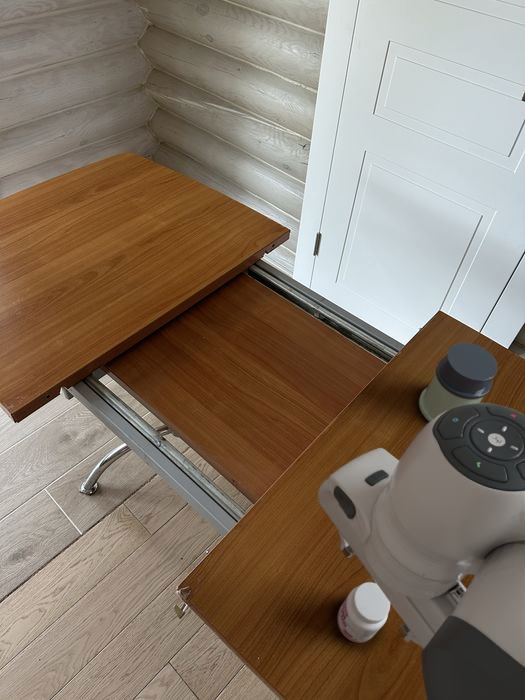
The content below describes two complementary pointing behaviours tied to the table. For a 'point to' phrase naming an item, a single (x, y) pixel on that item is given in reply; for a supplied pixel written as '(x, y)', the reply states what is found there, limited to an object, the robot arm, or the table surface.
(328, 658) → the table surface
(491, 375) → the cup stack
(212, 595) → the table surface
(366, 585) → the pill bottle
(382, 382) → the table surface
